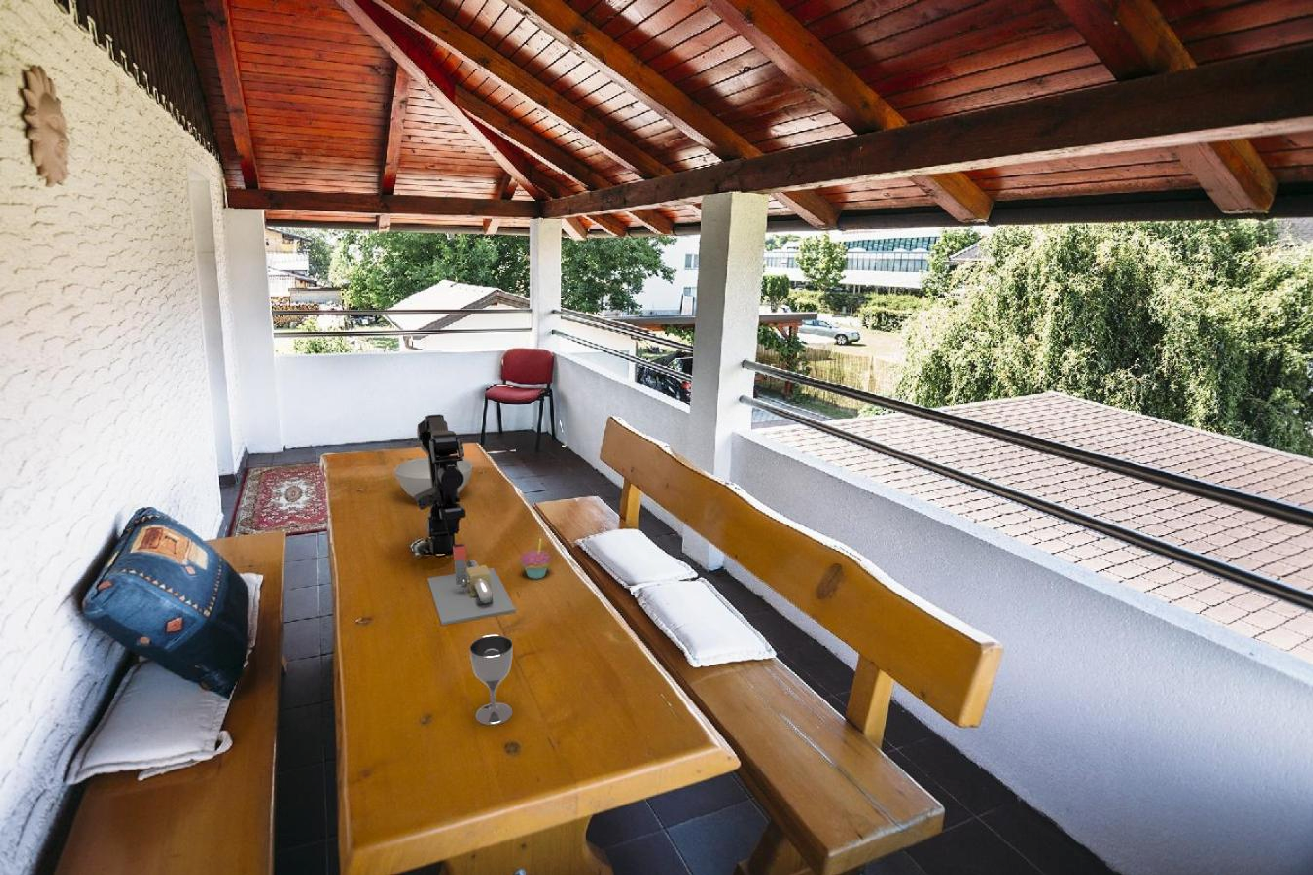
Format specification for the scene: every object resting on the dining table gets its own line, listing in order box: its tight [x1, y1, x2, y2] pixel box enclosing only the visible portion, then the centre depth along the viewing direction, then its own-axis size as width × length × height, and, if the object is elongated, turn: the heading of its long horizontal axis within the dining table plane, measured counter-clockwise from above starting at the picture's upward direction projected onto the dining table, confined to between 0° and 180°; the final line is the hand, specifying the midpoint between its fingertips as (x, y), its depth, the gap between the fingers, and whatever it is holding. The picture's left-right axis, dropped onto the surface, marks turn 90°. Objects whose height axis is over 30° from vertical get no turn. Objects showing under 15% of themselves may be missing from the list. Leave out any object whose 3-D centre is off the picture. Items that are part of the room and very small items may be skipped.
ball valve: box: [465, 559, 493, 606], centre depth 189 cm, size 20×6×6 cm, turn 25°
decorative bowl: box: [393, 456, 473, 499], centre depth 259 cm, size 27×27×12 cm
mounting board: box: [427, 567, 517, 626], centre depth 189 cm, size 26×18×1 cm
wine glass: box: [469, 634, 513, 726], centre depth 140 cm, size 8×8×15 cm
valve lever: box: [453, 543, 467, 588], centre depth 186 cm, size 2×3×12 cm
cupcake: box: [519, 537, 552, 580], centre depth 201 cm, size 9×8×12 cm
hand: (449, 532), depth 200 cm, fingers open, 5 cm apart
